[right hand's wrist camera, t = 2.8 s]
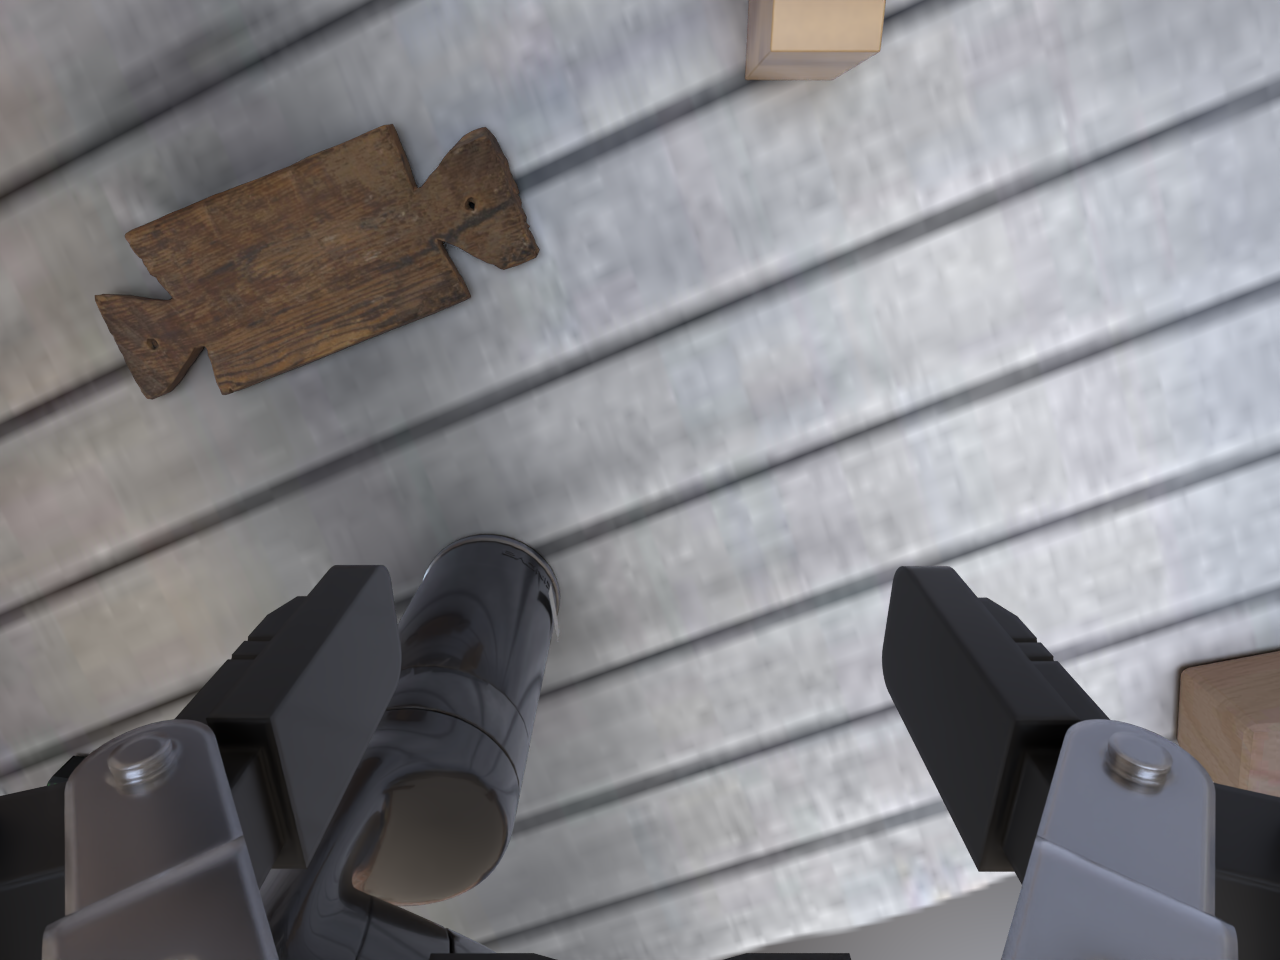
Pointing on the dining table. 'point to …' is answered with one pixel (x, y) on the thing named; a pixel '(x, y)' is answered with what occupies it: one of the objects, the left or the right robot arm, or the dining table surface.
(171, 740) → the right robot arm
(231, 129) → the dining table surface
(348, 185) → the dark wooden board
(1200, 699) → the decorative block
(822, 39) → the bar
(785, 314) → the dining table surface
